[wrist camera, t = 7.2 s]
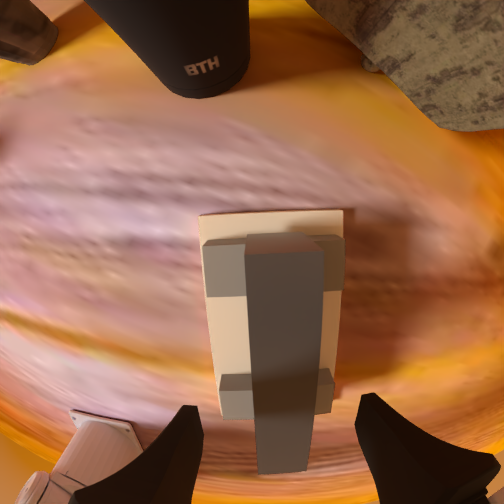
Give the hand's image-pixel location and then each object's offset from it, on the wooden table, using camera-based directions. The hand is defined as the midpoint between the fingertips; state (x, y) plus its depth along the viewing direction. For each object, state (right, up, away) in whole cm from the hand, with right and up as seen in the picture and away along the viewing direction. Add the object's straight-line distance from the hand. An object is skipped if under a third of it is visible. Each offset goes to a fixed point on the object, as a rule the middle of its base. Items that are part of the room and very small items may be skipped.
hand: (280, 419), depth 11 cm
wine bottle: (-5, +20, +5) cm, 22 cm away
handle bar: (0, +1, +6) cm, 6 cm away
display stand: (0, +2, +9) cm, 9 cm away
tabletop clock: (+8, +22, +5) cm, 24 cm away
